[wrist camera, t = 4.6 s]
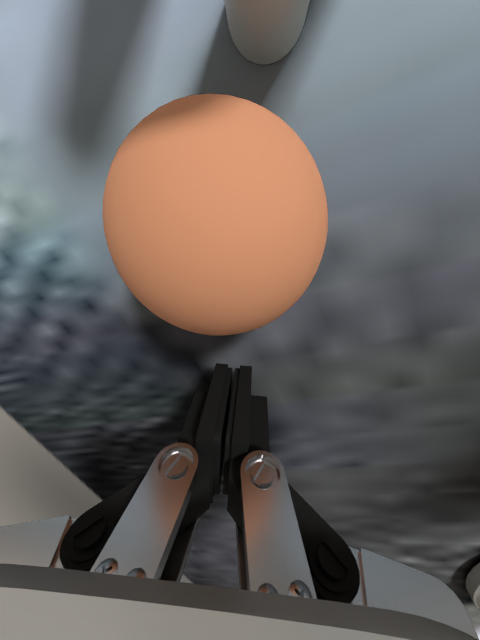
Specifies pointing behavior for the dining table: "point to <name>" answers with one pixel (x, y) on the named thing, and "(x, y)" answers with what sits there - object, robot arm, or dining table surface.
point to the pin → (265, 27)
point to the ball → (215, 214)
